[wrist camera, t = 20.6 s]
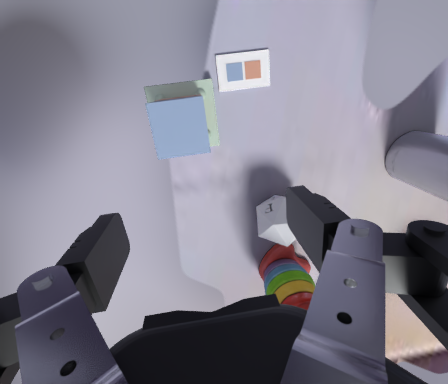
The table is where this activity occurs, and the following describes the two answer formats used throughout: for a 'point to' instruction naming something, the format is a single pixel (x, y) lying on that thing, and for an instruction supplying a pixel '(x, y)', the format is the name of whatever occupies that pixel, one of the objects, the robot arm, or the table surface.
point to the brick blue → (179, 126)
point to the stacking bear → (287, 276)
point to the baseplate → (189, 89)
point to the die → (274, 221)
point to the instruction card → (243, 70)
